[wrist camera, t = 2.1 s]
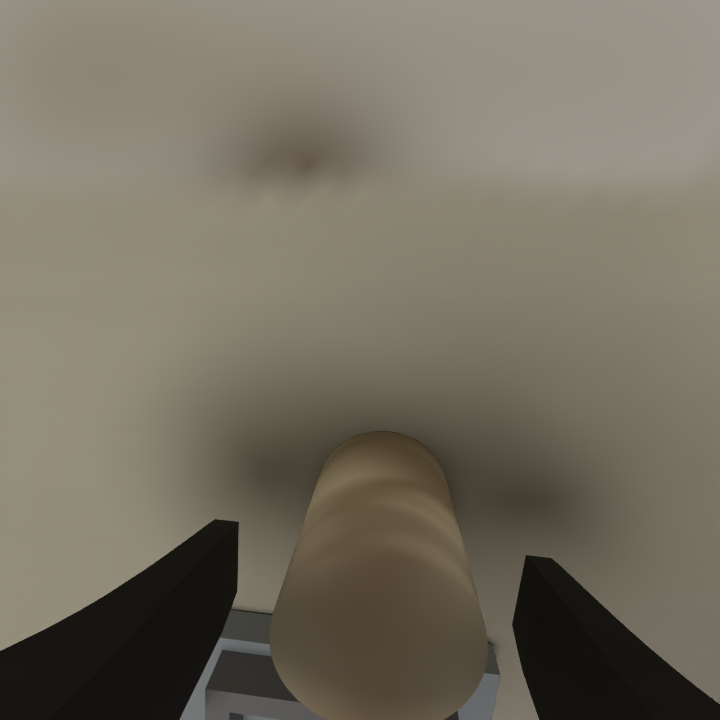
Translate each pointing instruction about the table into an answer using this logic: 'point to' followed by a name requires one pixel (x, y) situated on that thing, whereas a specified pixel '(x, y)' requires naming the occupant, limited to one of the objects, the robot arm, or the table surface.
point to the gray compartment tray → (266, 689)
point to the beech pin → (380, 591)
